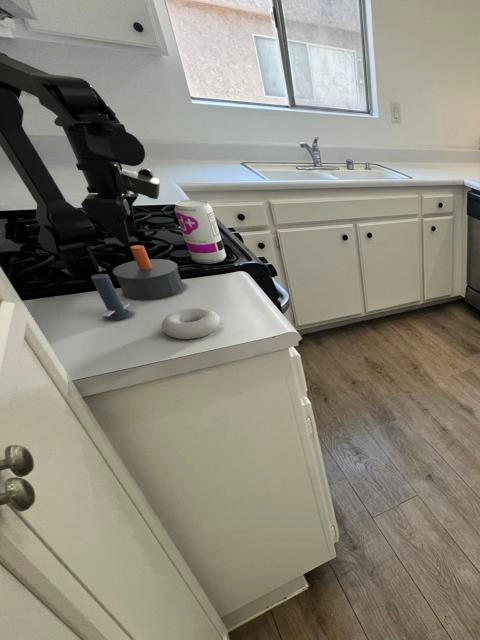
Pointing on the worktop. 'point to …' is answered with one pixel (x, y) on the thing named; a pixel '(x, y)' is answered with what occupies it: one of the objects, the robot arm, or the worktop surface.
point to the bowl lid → (144, 266)
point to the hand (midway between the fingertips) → (129, 237)
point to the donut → (191, 323)
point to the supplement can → (200, 231)
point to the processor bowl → (152, 287)
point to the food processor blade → (110, 298)
